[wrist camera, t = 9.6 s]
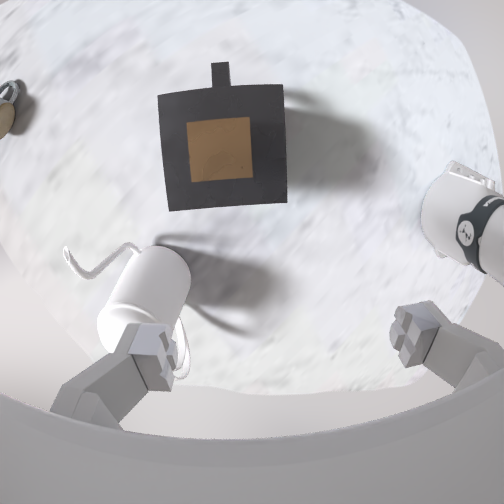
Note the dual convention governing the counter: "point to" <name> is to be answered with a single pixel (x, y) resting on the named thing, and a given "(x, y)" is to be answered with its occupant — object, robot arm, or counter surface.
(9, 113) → the ceramic mug
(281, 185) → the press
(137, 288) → the coffeepot
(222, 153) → the plunger
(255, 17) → the counter surface
